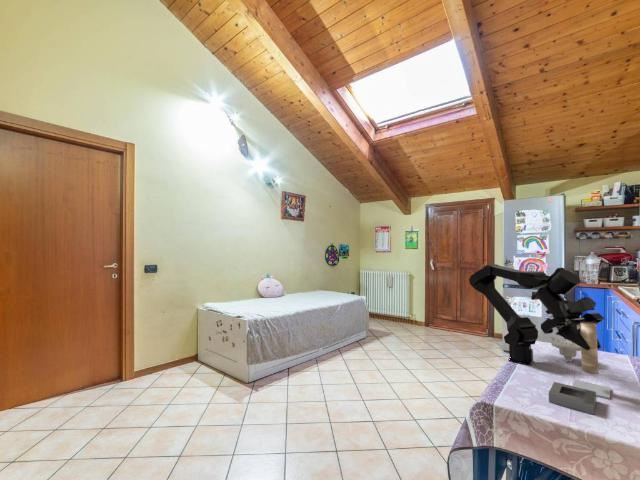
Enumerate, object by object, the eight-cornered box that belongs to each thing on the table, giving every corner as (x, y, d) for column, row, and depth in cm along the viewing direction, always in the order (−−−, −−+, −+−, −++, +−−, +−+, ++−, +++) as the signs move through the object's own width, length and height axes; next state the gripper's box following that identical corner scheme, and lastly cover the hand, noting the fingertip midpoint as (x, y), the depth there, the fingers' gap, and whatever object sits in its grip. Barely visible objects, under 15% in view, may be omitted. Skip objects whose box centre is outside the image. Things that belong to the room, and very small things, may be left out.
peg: (585, 373, 87) (583, 324, 87) (579, 368, 90) (577, 321, 90) (601, 375, 85) (599, 325, 86) (594, 370, 89) (592, 322, 89)
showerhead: (557, 334, 117) (589, 341, 108) (557, 353, 117) (590, 361, 108) (543, 338, 112) (576, 346, 104) (544, 358, 112) (577, 367, 103)
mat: (571, 390, 87) (571, 388, 87) (574, 381, 93) (574, 379, 93) (609, 399, 82) (609, 397, 82) (610, 389, 87) (610, 387, 87)
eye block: (548, 402, 81) (548, 392, 81) (554, 390, 88) (554, 381, 88) (593, 414, 75) (593, 404, 75) (596, 401, 81) (595, 391, 81)
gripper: (548, 289, 90) (590, 337, 79) (595, 286, 94) (642, 331, 83) (525, 310, 97) (561, 357, 86) (570, 306, 102) (610, 350, 91)
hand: (594, 348), depth 86 cm, fingers closed on peg, 4 cm apart
